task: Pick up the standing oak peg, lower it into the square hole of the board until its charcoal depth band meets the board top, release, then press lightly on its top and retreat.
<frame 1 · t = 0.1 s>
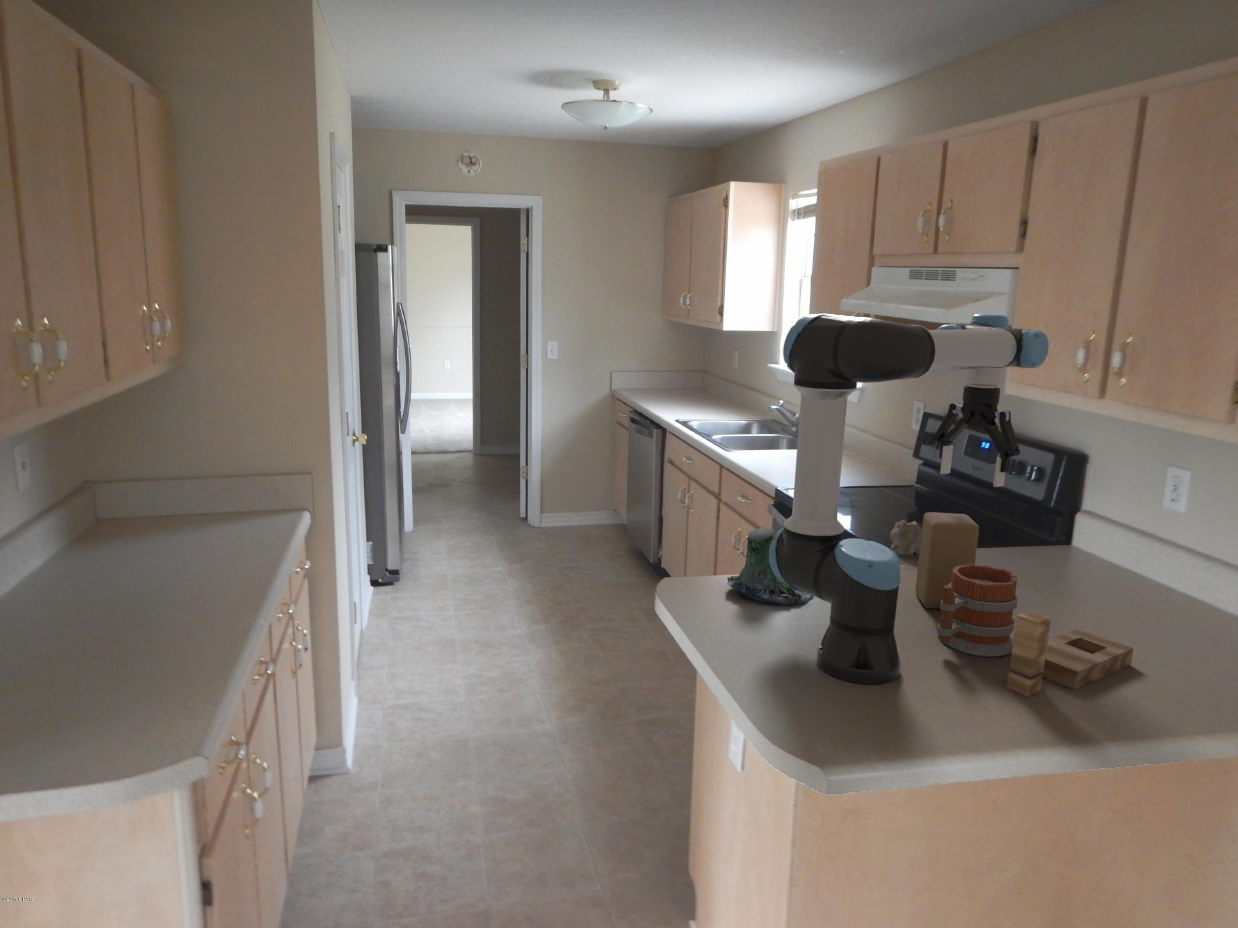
hand: (971, 479, 200), 28 cm above the countertop, fingers open, 13 cm apart
tree stump: (770, 594, 205), on the countertop
rock: (912, 557, 234), on the countertop
peg: (1023, 689, 161), on the countertop
board: (1075, 665, 171), on the countertop
mug: (967, 646, 179), on the countertop
wooden block: (941, 603, 202), on the countertop
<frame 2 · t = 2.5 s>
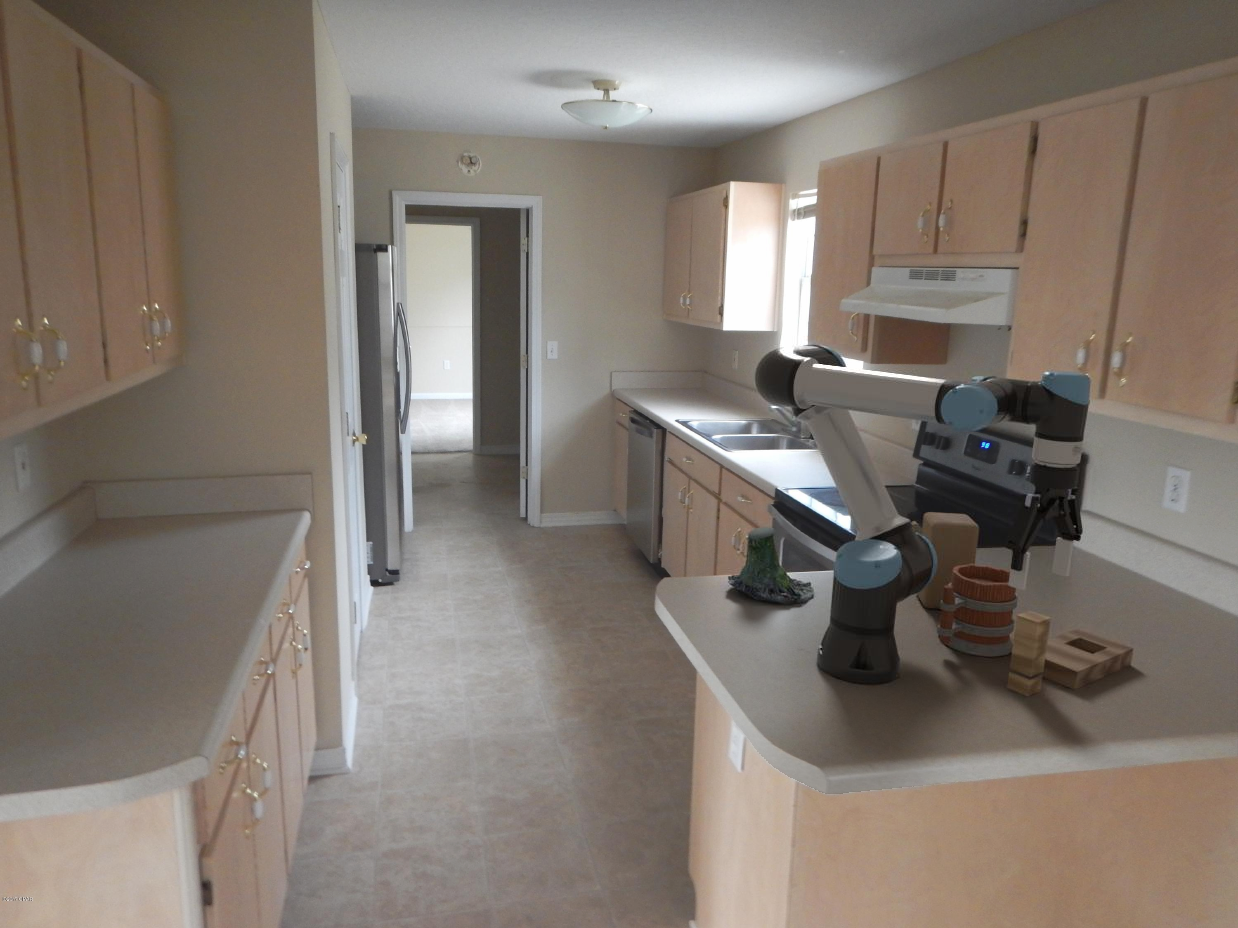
hand: (1039, 580, 156), 21 cm above the countertop, fingers open, 13 cm apart
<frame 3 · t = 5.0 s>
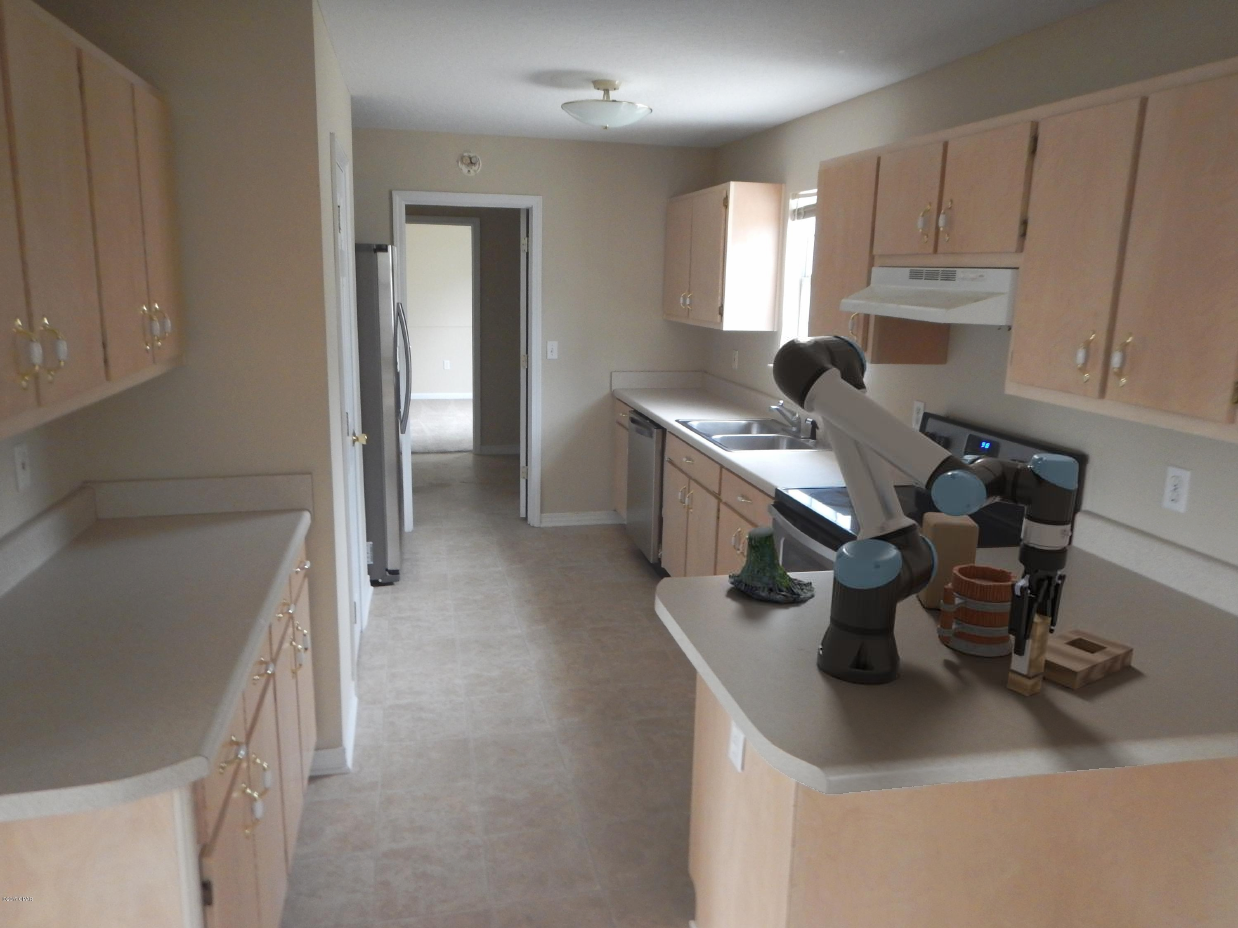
hand: (1026, 667, 160), 4 cm above the countertop, fingers closed on peg, 4 cm apart
peg: (1023, 688, 160), on the countertop, touching gripper
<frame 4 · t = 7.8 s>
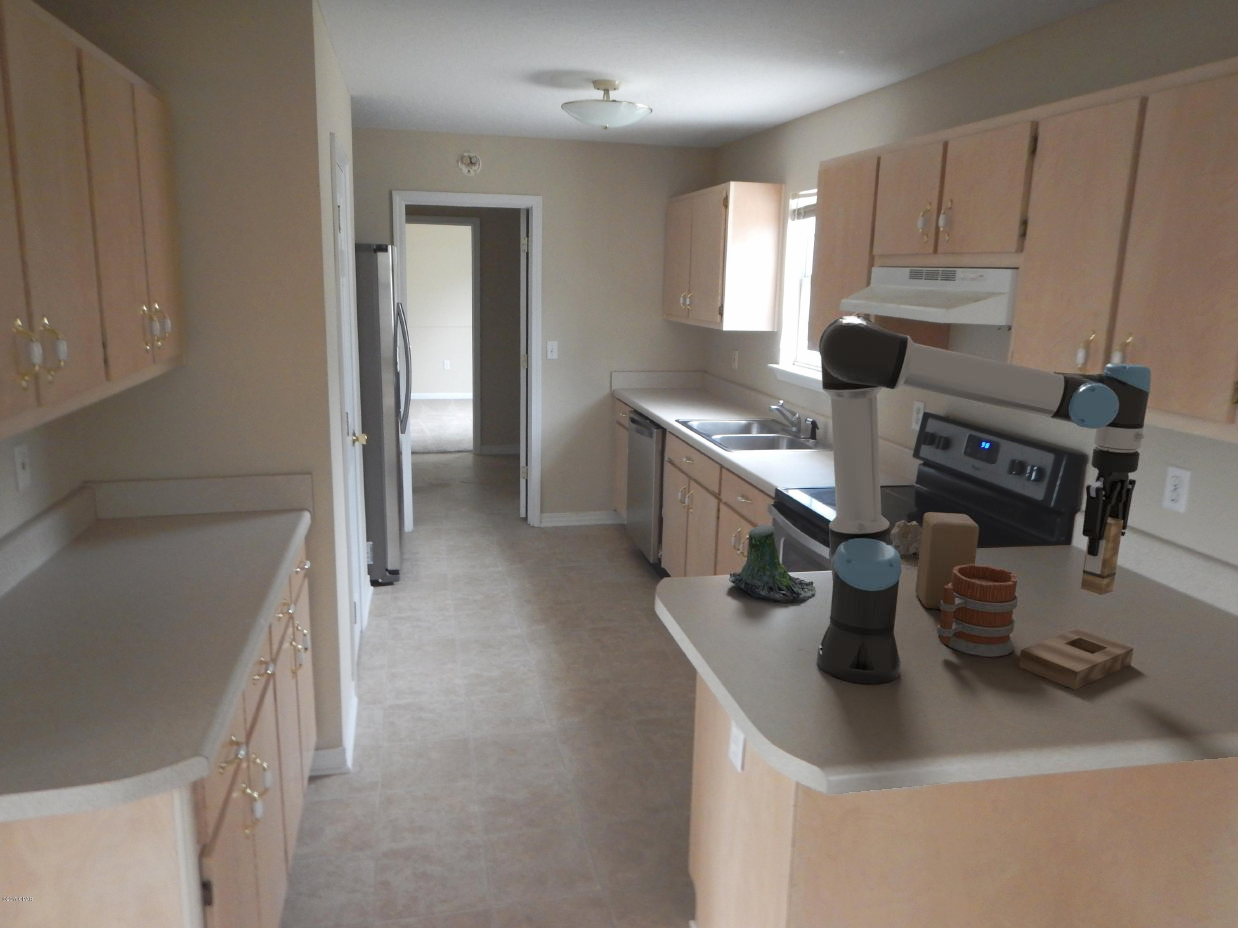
hand: (1099, 569, 168), 19 cm above the countertop, fingers closed on peg, 4 cm apart
peg: (1096, 589, 169), point 15 cm above the countertop, touching gripper
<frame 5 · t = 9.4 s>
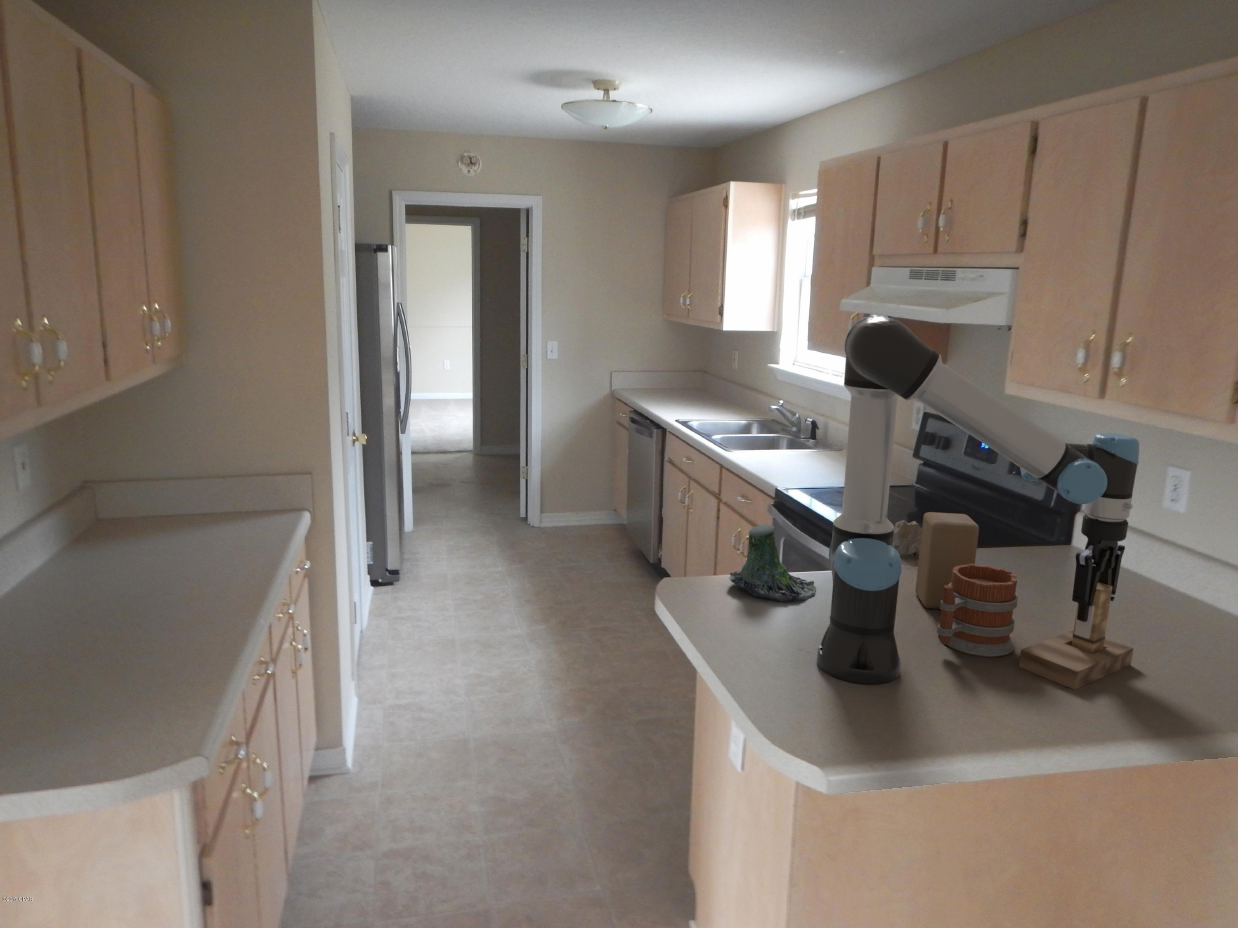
hand: (1088, 633, 171), 6 cm above the countertop, fingers closed on peg, 4 cm apart
peg: (1086, 653, 172), point 2 cm above the countertop, touching gripper
when the fingers open (5 cm above the countertop, at t = 10.5 s): peg stays where it is, resting in board.
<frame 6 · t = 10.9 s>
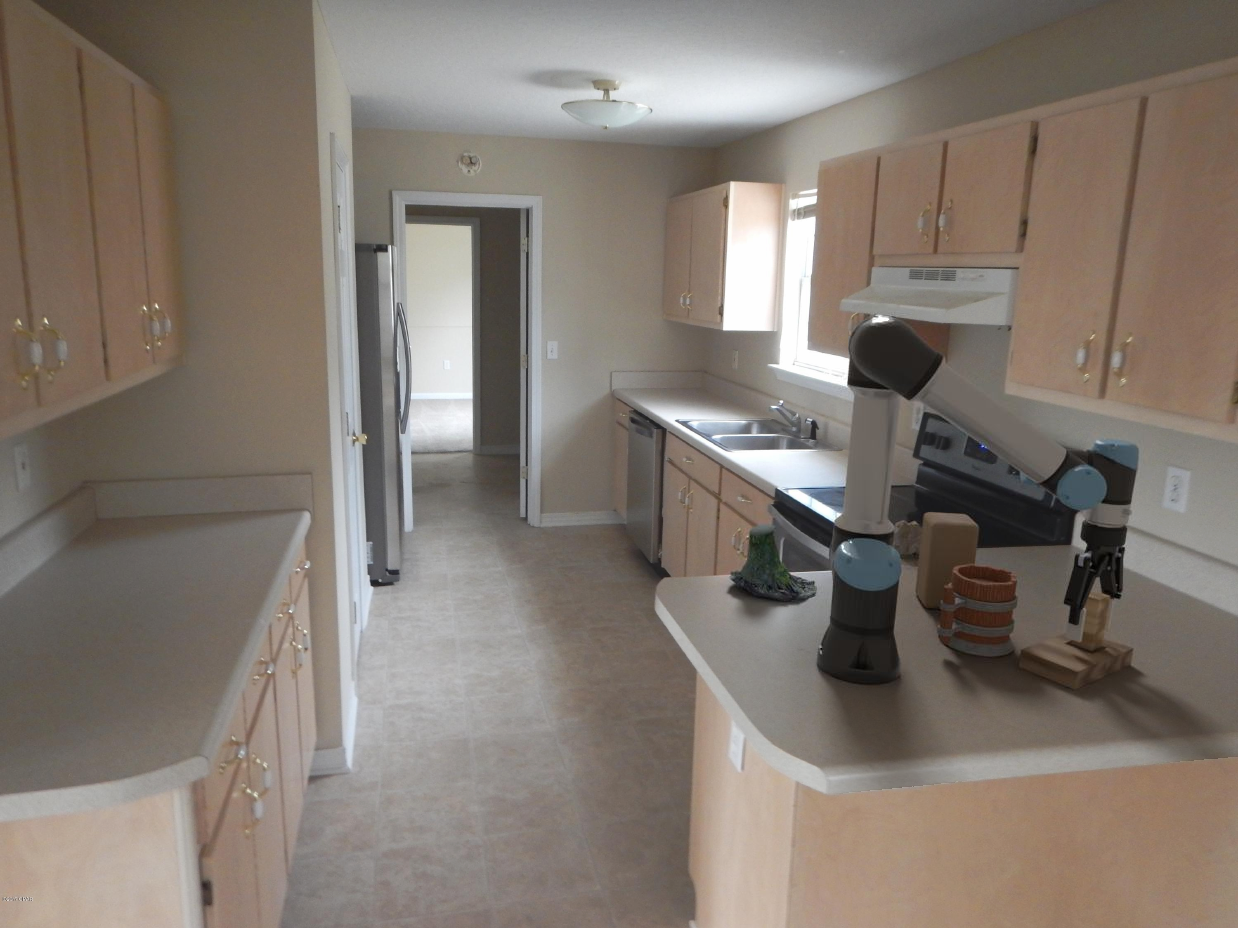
hand: (1087, 633, 171), 6 cm above the countertop, fingers open, 9 cm apart
peg: (1083, 662, 172), resting in board
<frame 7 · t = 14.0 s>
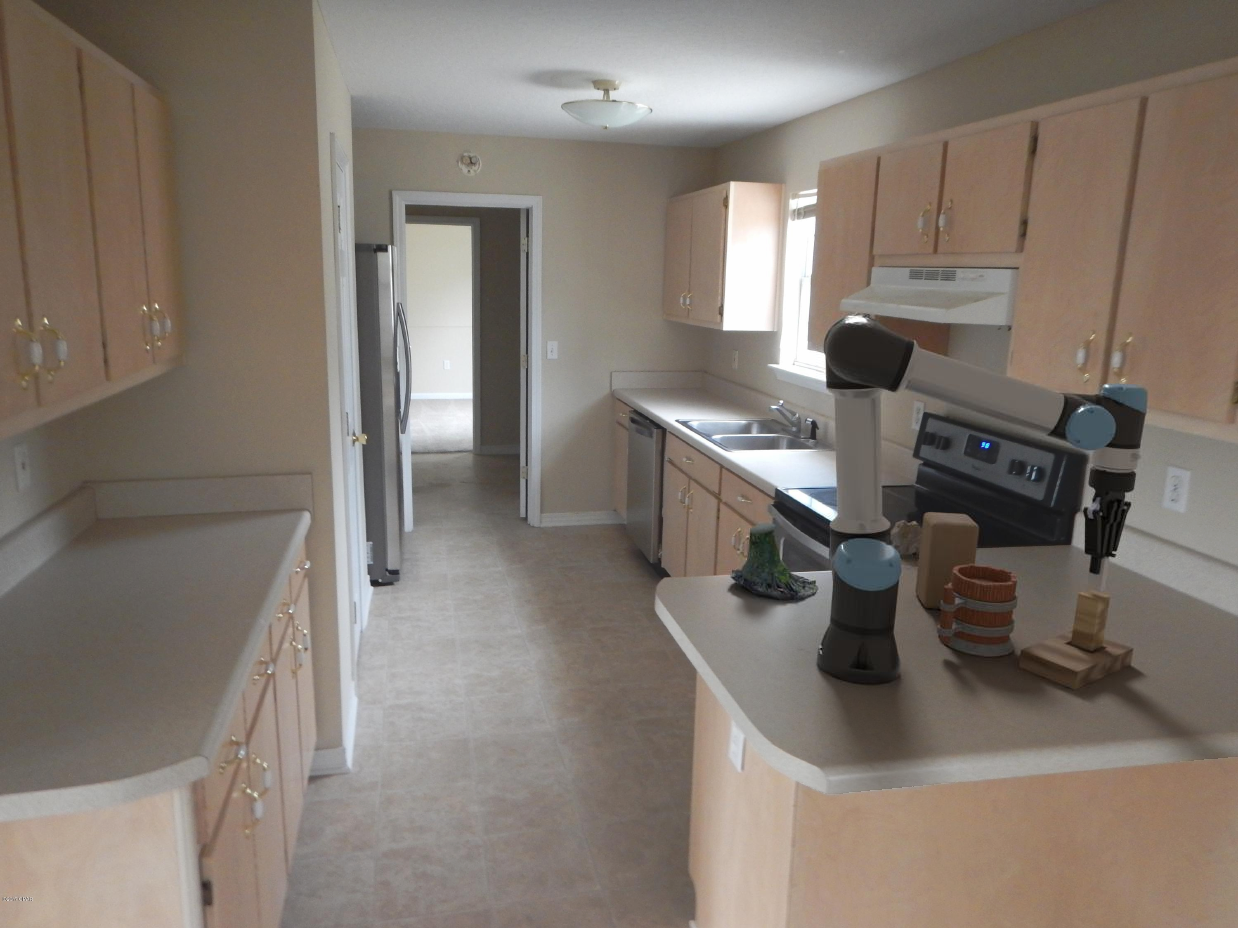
hand: (1095, 588, 169), 15 cm above the countertop, fingers closed
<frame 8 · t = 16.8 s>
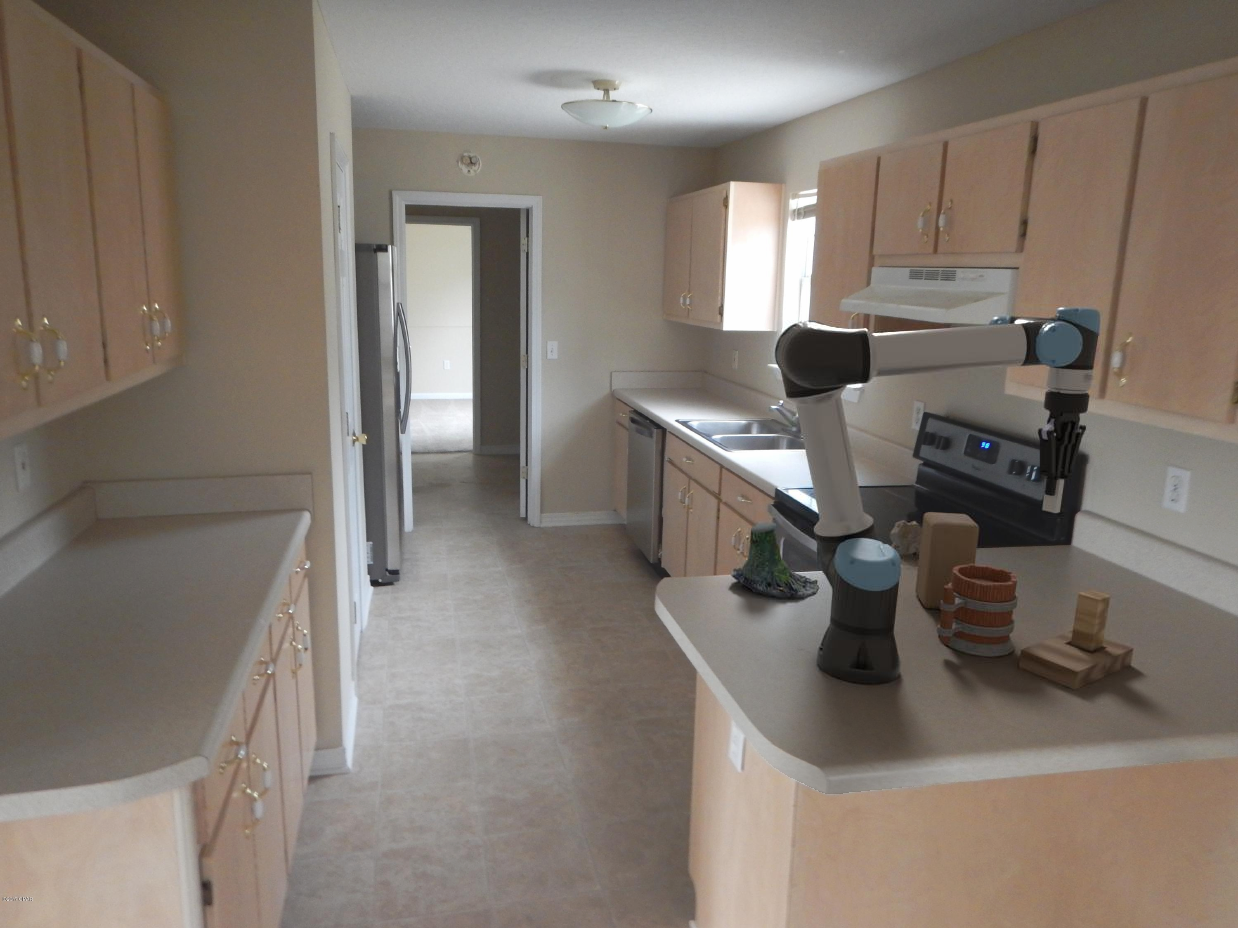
hand: (1050, 510, 173), 28 cm above the countertop, fingers closed
at the end: peg 0.1 cm from the target spot on the board, point 0.0 cm above the board's base; peg tilted 0°; the gripper is holding nothing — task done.
